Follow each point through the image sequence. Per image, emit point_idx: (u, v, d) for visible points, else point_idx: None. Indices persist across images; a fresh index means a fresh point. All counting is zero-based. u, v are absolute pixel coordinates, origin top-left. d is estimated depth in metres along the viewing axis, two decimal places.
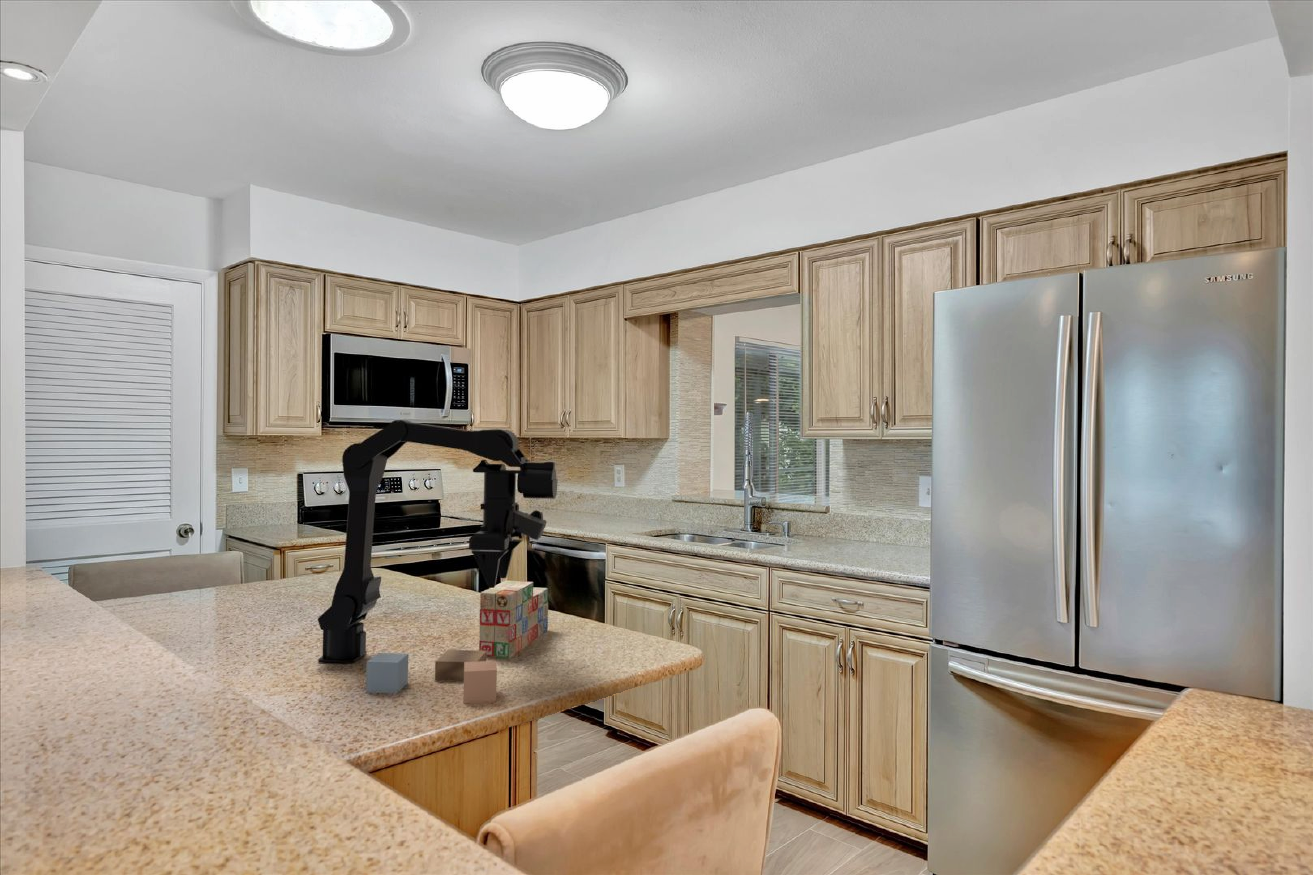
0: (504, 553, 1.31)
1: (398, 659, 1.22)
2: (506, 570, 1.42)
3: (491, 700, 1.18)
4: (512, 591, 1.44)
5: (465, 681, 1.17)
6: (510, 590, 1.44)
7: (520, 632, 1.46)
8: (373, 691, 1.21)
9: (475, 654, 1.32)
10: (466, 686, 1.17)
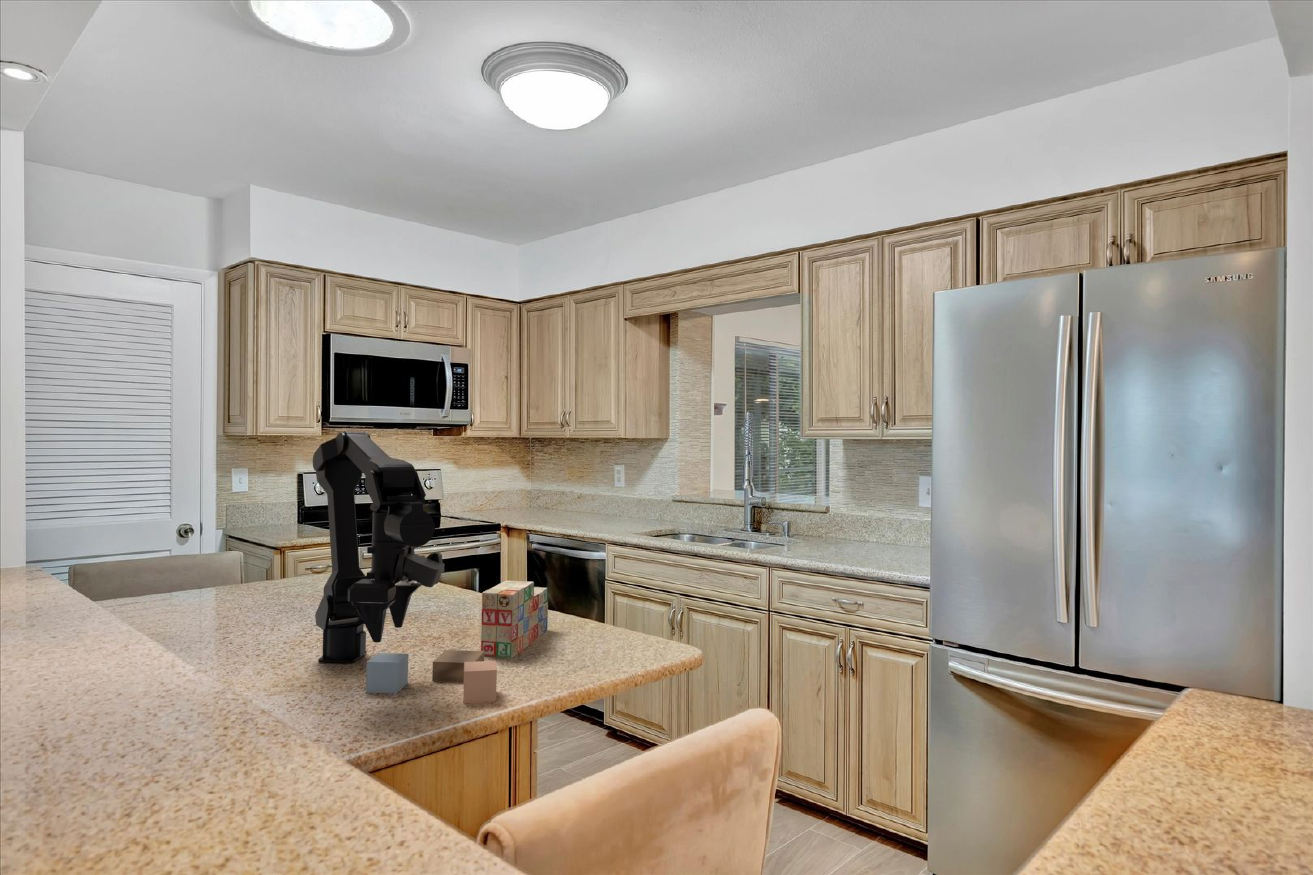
0: (389, 605, 1.16)
1: (398, 659, 1.22)
2: (401, 619, 1.28)
3: (491, 700, 1.18)
4: (514, 591, 1.44)
5: (465, 681, 1.17)
6: (512, 590, 1.44)
7: (521, 632, 1.46)
8: (373, 691, 1.21)
9: (473, 655, 1.31)
10: (466, 686, 1.17)
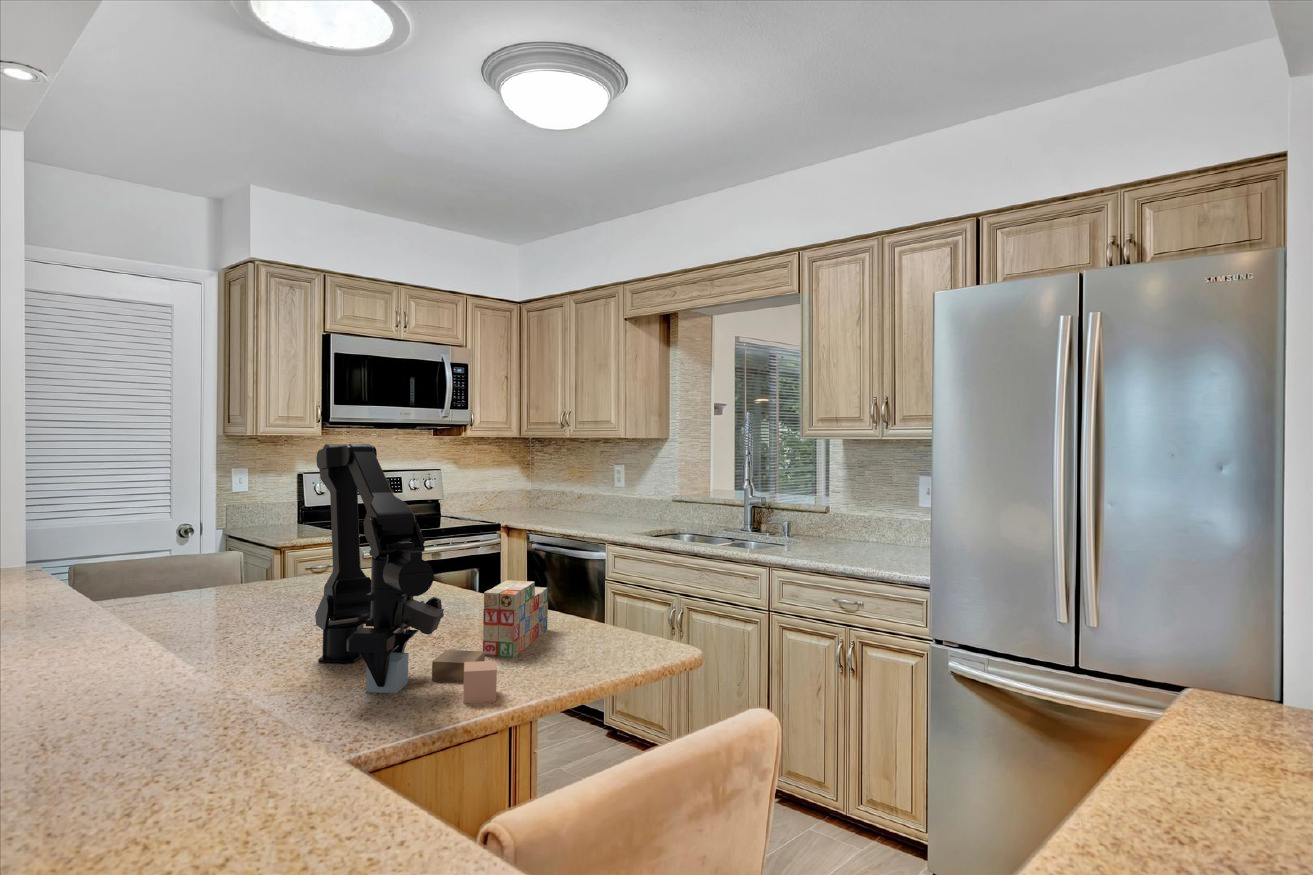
0: (392, 650, 1.18)
1: (399, 658, 1.22)
2: None
3: (491, 700, 1.18)
4: (515, 591, 1.44)
5: (465, 681, 1.17)
6: (513, 590, 1.45)
7: (523, 632, 1.46)
8: (373, 690, 1.21)
9: (473, 655, 1.31)
10: (466, 686, 1.17)
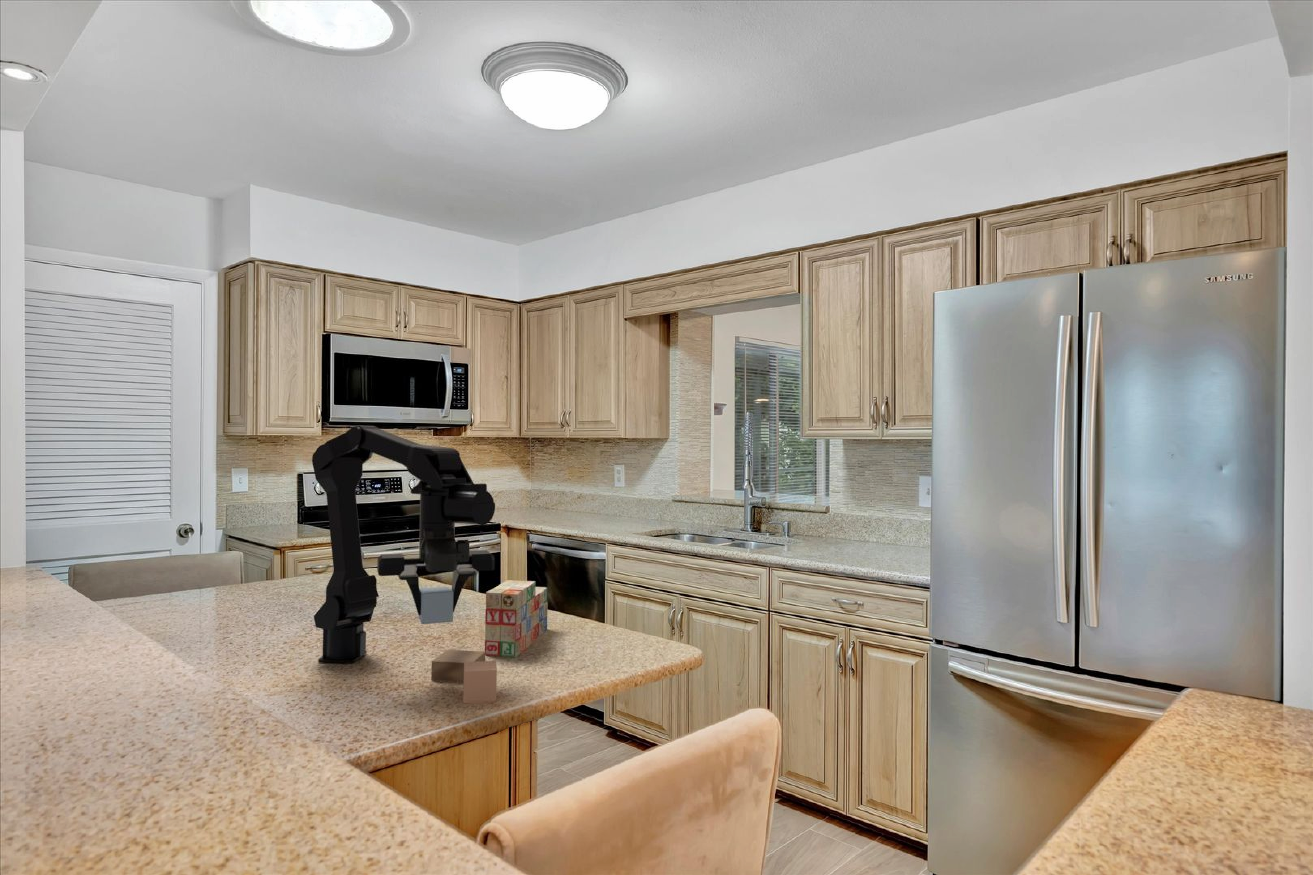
0: (405, 579, 1.23)
1: (432, 592, 1.25)
2: None
3: (491, 700, 1.18)
4: (517, 590, 1.44)
5: (465, 681, 1.17)
6: (515, 589, 1.45)
7: (524, 632, 1.47)
8: (419, 617, 1.28)
9: (473, 655, 1.31)
10: (466, 686, 1.17)
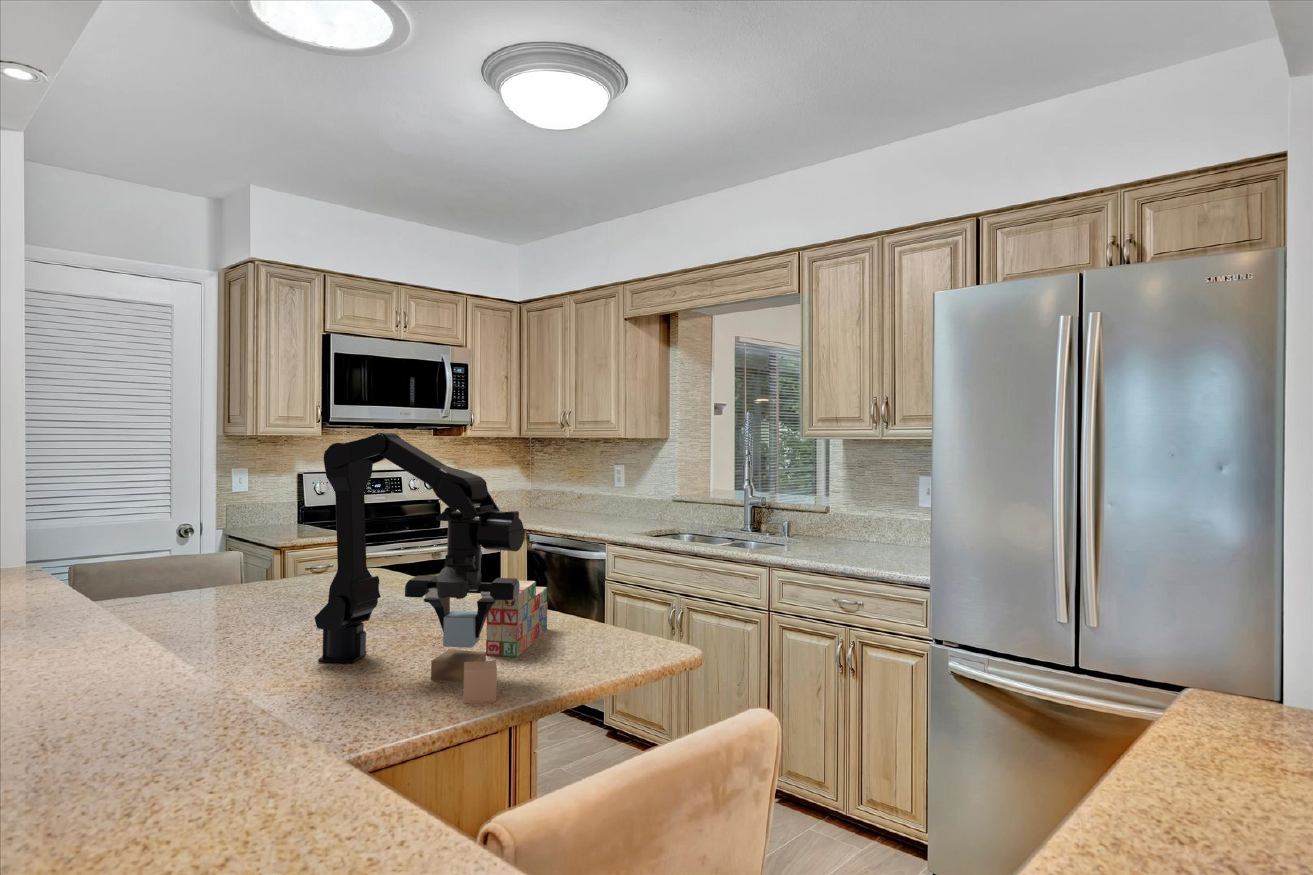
0: None
1: (453, 617, 1.29)
2: None
3: (491, 700, 1.18)
4: None
5: (465, 681, 1.17)
6: None
7: (525, 631, 1.47)
8: None
9: (473, 655, 1.31)
10: (466, 686, 1.17)
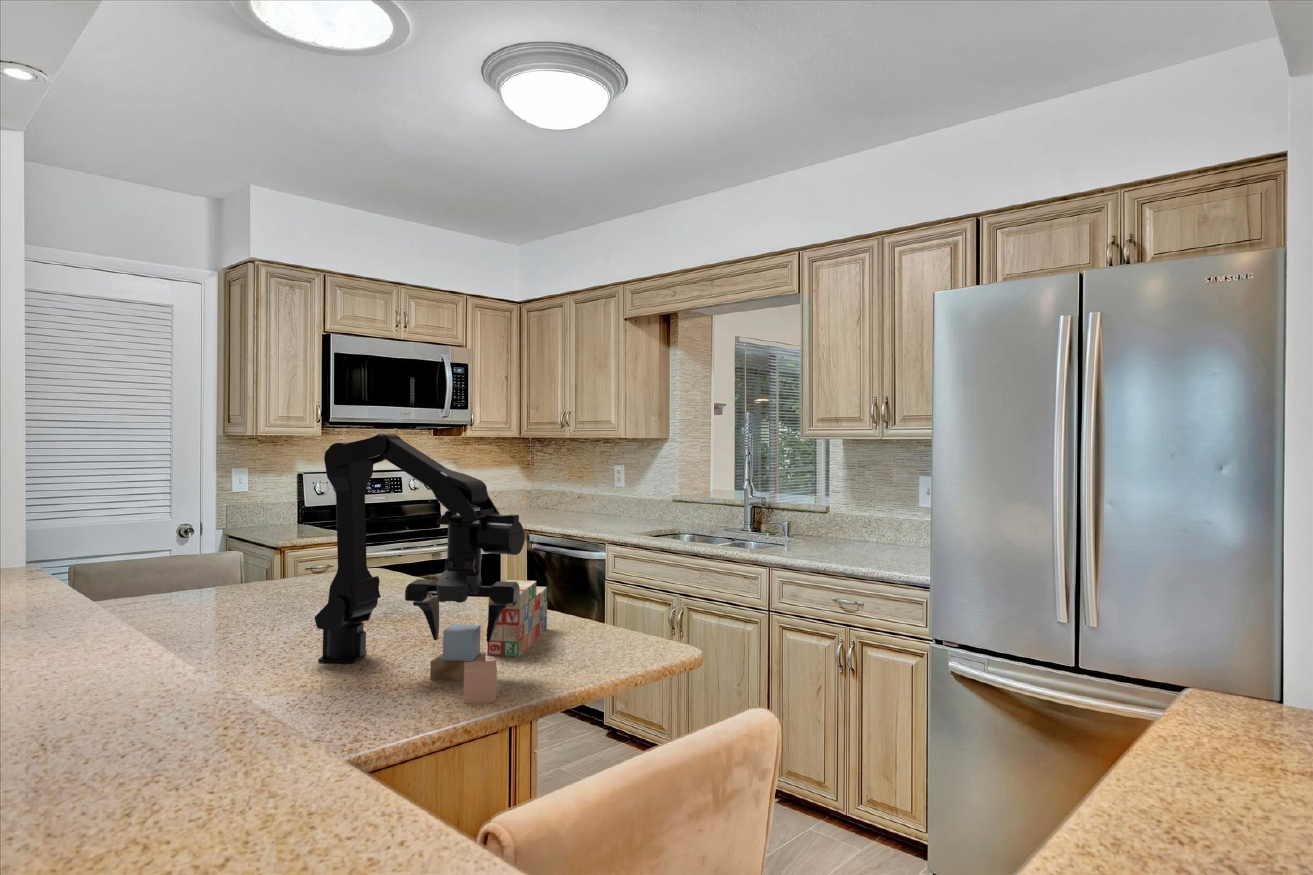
0: (416, 605, 1.28)
1: (453, 630, 1.29)
2: (487, 633, 1.30)
3: (491, 700, 1.18)
4: (520, 590, 1.45)
5: (465, 681, 1.17)
6: None
7: (527, 631, 1.47)
8: None
9: None
10: (466, 686, 1.17)
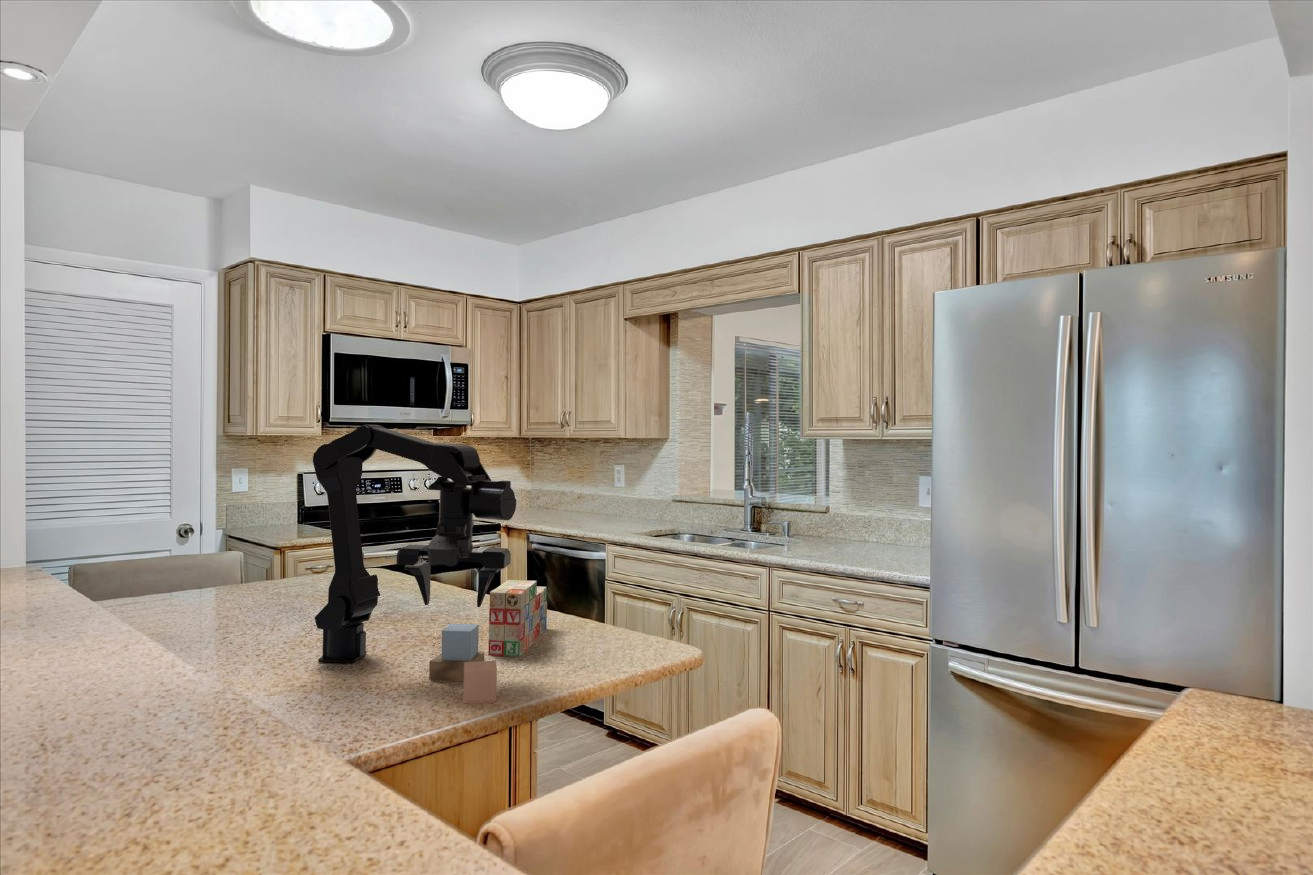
0: (407, 569, 1.29)
1: (451, 630, 1.29)
2: None
3: (491, 700, 1.18)
4: (521, 590, 1.45)
5: (465, 681, 1.17)
6: (518, 589, 1.45)
7: (527, 631, 1.47)
8: None
9: None
10: (466, 686, 1.17)
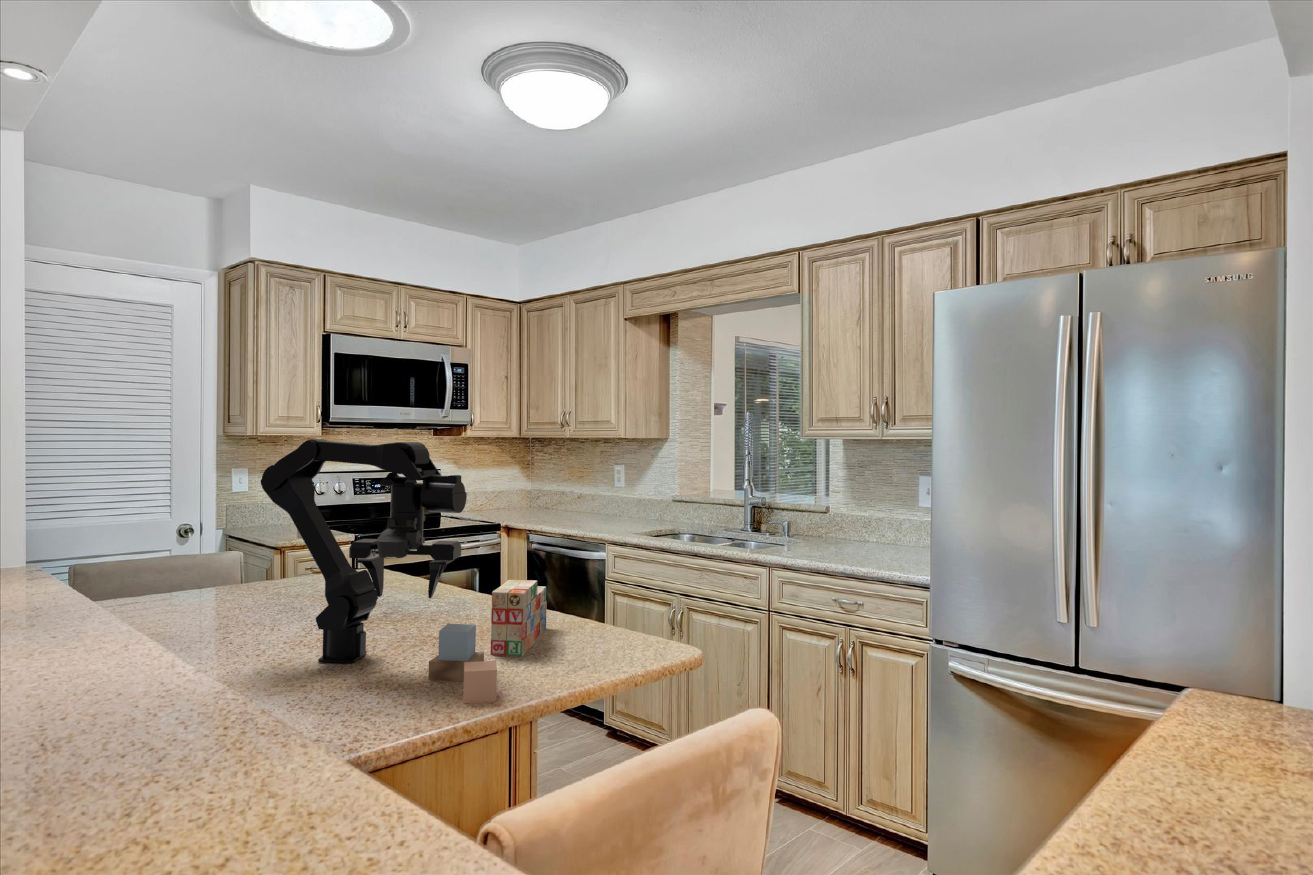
0: (360, 562, 1.34)
1: (449, 630, 1.28)
2: None
3: (491, 700, 1.18)
4: (523, 590, 1.45)
5: (465, 681, 1.17)
6: (520, 589, 1.46)
7: (529, 631, 1.48)
8: None
9: None
10: (466, 686, 1.17)
